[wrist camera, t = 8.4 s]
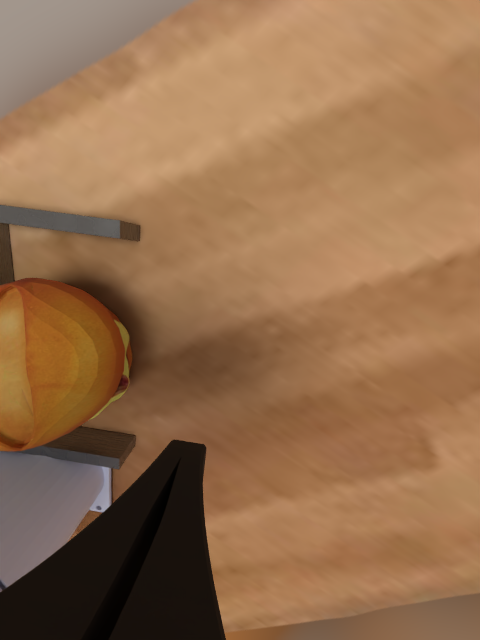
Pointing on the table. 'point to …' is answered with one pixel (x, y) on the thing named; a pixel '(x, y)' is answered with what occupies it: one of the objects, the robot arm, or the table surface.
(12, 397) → the cheeseburger
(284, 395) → the table surface
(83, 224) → the grey low angled fixture
